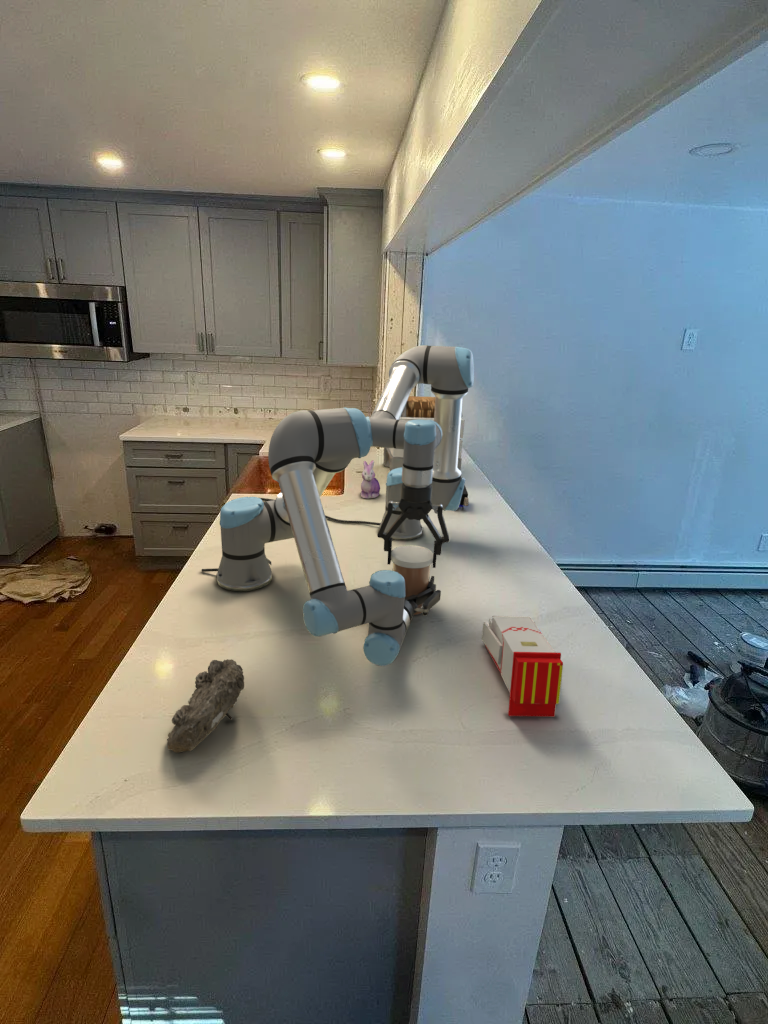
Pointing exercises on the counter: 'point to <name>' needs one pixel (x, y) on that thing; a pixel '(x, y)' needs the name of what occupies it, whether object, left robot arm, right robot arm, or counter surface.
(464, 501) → the figurine character
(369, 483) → the figurine
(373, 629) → the left robot arm
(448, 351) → the right robot arm
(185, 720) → the fossil
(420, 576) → the jar
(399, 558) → the lid
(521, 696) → the toy
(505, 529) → the counter surface
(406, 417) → the white wooden crate
